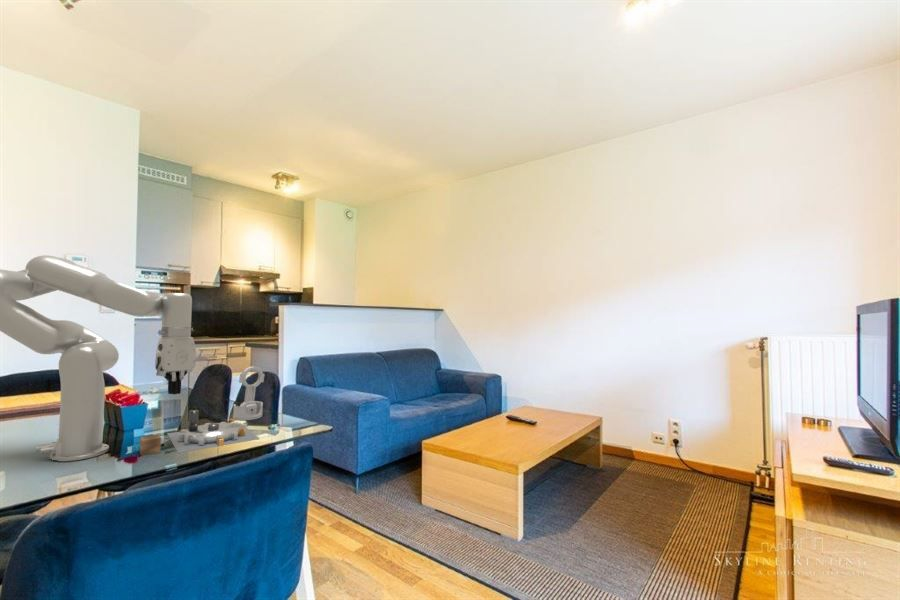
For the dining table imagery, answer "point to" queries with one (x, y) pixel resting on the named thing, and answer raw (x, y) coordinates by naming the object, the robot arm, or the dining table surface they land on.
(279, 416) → the dining table surface
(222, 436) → the sprocket
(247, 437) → the base plate
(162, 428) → the dining table surface
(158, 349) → the robot arm
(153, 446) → the link block
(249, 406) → the engine component
